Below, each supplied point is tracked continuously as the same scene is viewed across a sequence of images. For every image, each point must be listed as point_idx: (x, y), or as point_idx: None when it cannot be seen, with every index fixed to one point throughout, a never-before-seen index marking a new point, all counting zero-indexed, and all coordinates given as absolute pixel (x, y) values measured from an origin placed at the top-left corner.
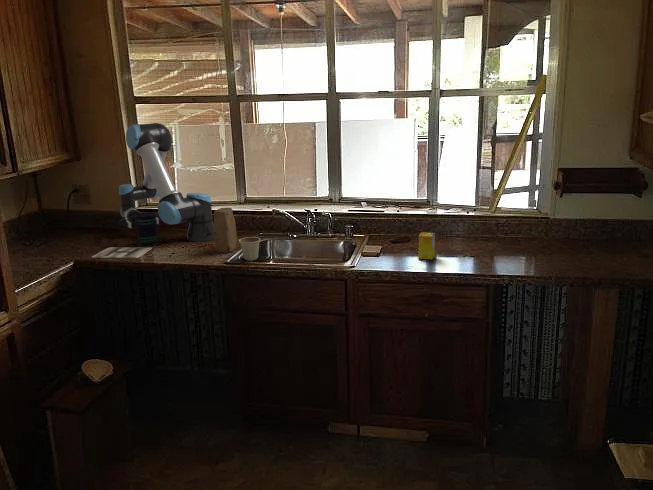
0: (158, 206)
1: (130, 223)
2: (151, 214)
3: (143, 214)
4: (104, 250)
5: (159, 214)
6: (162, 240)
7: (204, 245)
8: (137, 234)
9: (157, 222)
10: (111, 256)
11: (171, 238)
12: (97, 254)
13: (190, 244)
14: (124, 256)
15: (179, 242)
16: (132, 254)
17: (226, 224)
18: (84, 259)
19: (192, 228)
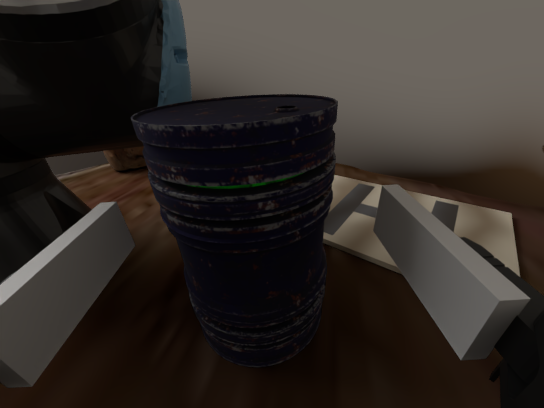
0: (183, 23)
1: (386, 192)
2: (198, 106)
3: (251, 109)
4: (507, 263)
5: (190, 85)
6: (162, 328)
7: (131, 196)
8: (325, 253)
9: (129, 232)
10: (417, 194)
11: (86, 347)
12: (501, 225)
13: (144, 214)
14: (369, 184)
15: (143, 248)
16: (346, 189)
17: None
18: (533, 213)
19: (65, 193)
